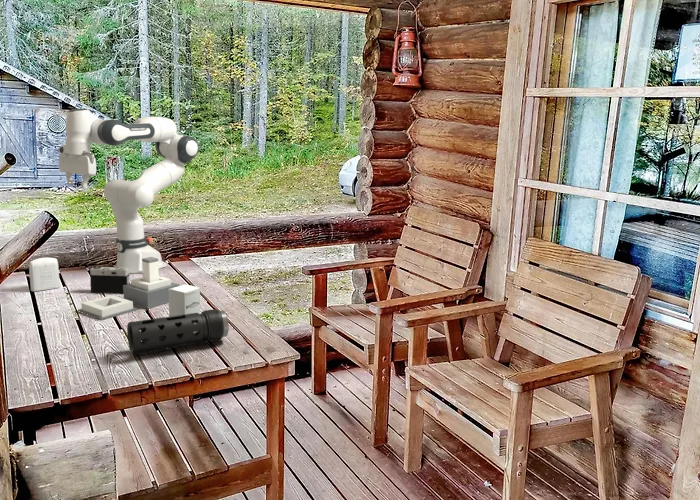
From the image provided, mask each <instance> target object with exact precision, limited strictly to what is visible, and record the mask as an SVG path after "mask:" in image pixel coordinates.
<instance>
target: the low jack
mask: <svg viewBox="0 0 700 500" xmlns="http://www.w3.org/2000/svg"><path fill="white" fill-rule="evenodd" d="M80 305H81V308H80V309H77V312H78V311H80V312H83V313H85V314H84V315H86V314H88V315H90V316H89V317H91V316H92V318H94V317H95V318H94V319H96V320H100V321H104V320H108V319H111V318H114V317H117V316H118V317H119V316H120V315H121V316H122V315H124V314H129V313H130V312H135V311H138V308H137V307H134V304H133V302H132V301H129V300H126V299H124V297H123V298H122V297H119V296H117V295H113V294H111V295H107V296H104V297H99V298H95V299H90V300H88V301H83V302H81V304H80ZM80 312H79V313H80ZM83 313H82V314H83ZM88 315H87V316H88Z"/></svg>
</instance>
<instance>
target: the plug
mask: <svg viewBox="0 0 700 500" xmlns="http://www.w3.org/2000/svg"><path fill="white" fill-rule="evenodd" d="M142 269H143V273H142V277H143V281H145V282H148V283H151V282H155V281H159V276H160V272H159V271H160V268H159V266H158V258H154V257H148V258H143V259H142Z"/></svg>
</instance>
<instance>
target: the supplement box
mask: <svg viewBox="0 0 700 500" xmlns="http://www.w3.org/2000/svg"><path fill="white" fill-rule="evenodd" d="M168 290H169V303H168V314H169V315H168V317H170V316H177V315H184V314H191V313H199V314H201V288H200V287H198V286H194V285H189V284H185V283H183V284H181V285H179V286H178V287H174V288H171V289H168Z"/></svg>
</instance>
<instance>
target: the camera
mask: <svg viewBox="0 0 700 500" xmlns="http://www.w3.org/2000/svg"><path fill="white" fill-rule="evenodd" d="M89 269H90V275H89V276H90V281H89V283H90V293H91V294H92V293H93V294H123V295H124V293H123V285H127V284H130V273H129V268H118V266H117V267H116V266H114V267H111V266H110V267H109V266H99V265H98V266H97V265H96V266H93V267H92V268H89Z"/></svg>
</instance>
